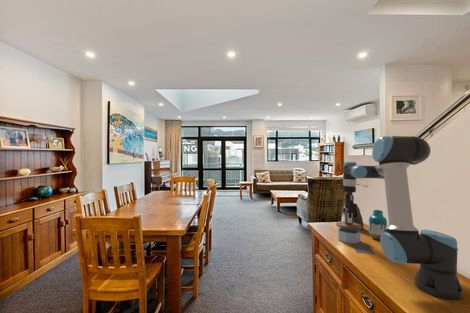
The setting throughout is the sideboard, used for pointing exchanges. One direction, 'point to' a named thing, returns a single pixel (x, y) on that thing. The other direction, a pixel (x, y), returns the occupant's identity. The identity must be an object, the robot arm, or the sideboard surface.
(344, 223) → the lid
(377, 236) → the vase
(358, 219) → the owl
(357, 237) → the bowl
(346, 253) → the sideboard surface
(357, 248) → the mat
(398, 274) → the sideboard surface
